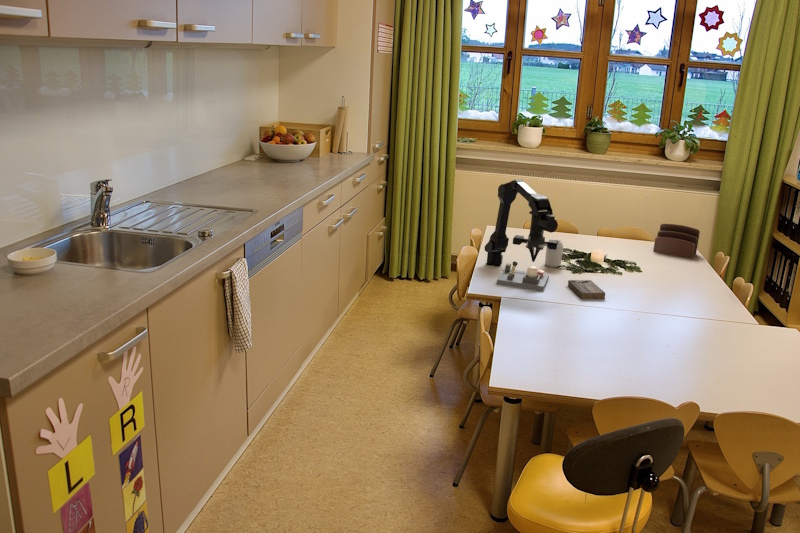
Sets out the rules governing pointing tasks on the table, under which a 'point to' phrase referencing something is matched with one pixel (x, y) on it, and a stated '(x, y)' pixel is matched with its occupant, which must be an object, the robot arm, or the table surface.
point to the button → (532, 272)
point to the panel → (523, 280)
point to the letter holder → (677, 240)
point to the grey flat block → (586, 289)
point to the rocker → (540, 272)
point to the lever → (513, 268)
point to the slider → (508, 267)
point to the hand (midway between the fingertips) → (533, 261)
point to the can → (554, 255)
